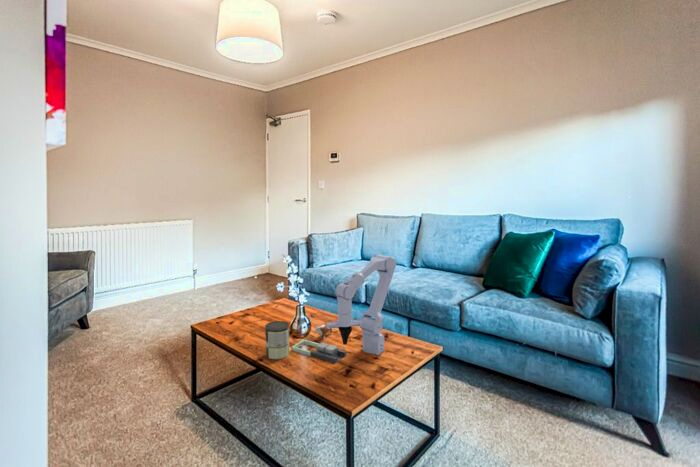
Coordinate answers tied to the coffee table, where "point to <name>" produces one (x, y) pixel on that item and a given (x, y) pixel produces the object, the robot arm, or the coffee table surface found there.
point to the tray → (295, 348)
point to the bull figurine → (323, 329)
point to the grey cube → (331, 350)
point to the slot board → (328, 357)
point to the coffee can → (277, 339)
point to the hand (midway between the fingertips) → (344, 343)
